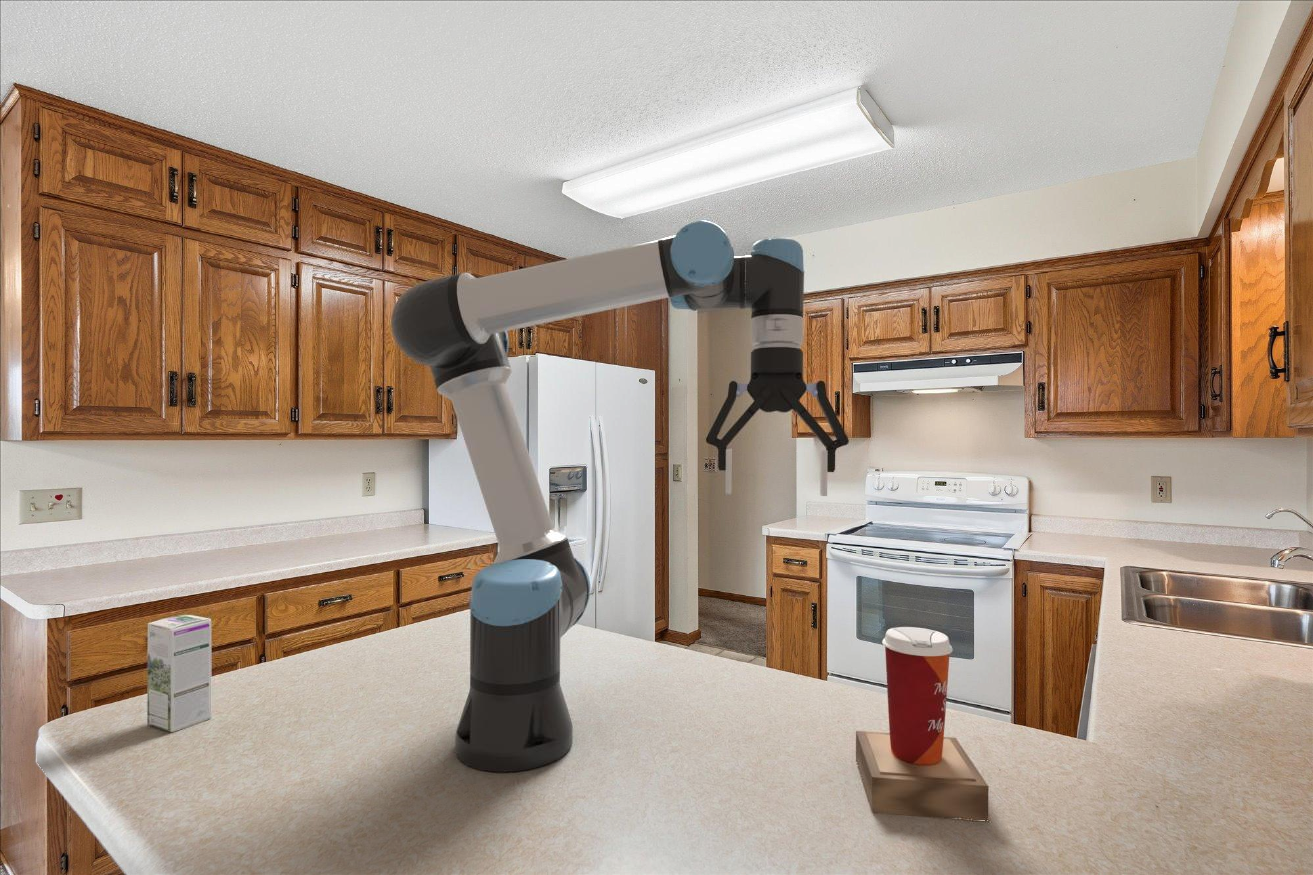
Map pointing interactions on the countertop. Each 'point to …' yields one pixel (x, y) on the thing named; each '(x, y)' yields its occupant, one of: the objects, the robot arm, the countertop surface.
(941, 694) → the paper cup
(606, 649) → the countertop surface
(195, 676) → the syrup box
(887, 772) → the plinth
